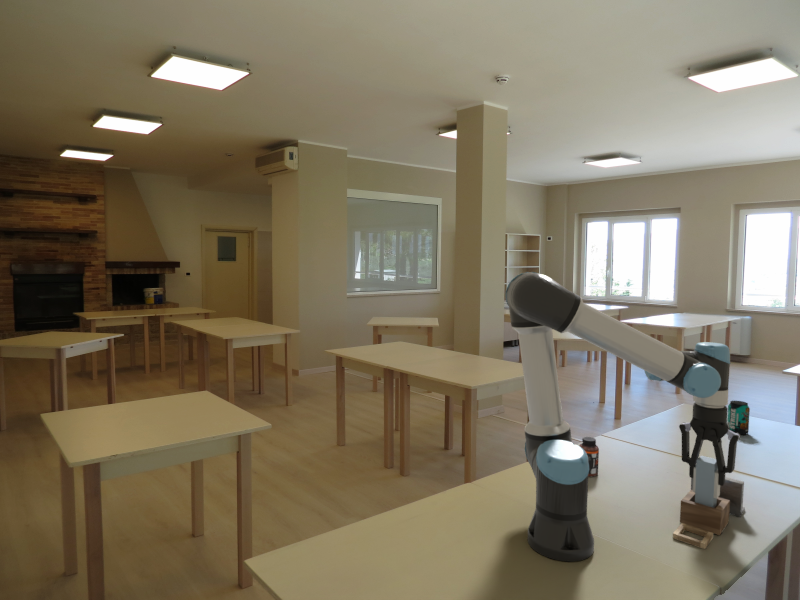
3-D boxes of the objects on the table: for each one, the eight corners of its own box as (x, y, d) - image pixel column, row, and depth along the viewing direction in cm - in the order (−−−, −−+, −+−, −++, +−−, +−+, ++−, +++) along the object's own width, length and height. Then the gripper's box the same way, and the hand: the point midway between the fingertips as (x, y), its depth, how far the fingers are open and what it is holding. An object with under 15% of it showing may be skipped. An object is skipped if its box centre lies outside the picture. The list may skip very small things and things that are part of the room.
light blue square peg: (712, 510, 131) (714, 464, 130) (694, 505, 134) (696, 459, 133) (716, 504, 134) (718, 459, 133) (699, 499, 137) (701, 455, 136)
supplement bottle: (599, 478, 161) (600, 442, 160) (579, 476, 163) (580, 441, 162) (596, 470, 167) (597, 436, 166) (576, 469, 168) (577, 434, 167)
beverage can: (752, 435, 200) (754, 405, 199) (734, 435, 200) (735, 405, 199) (740, 429, 207) (742, 400, 206) (722, 429, 207) (724, 400, 206)
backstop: (740, 517, 137) (742, 484, 136) (690, 502, 145) (691, 471, 145) (744, 510, 141) (746, 478, 140) (695, 496, 149) (696, 465, 148)
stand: (705, 549, 122) (705, 544, 122) (672, 538, 127) (673, 533, 127) (713, 537, 127) (713, 533, 127) (681, 527, 132) (681, 522, 132)
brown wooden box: (719, 535, 128) (721, 512, 127) (679, 522, 134) (680, 500, 134) (728, 522, 134) (729, 500, 134) (690, 510, 140) (691, 489, 140)
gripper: (753, 407, 128) (748, 499, 130) (678, 395, 140) (674, 479, 142) (746, 414, 123) (741, 509, 125) (668, 400, 135) (665, 487, 137)
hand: (706, 493), depth 133 cm, fingers closed on light blue square peg, 4 cm apart
